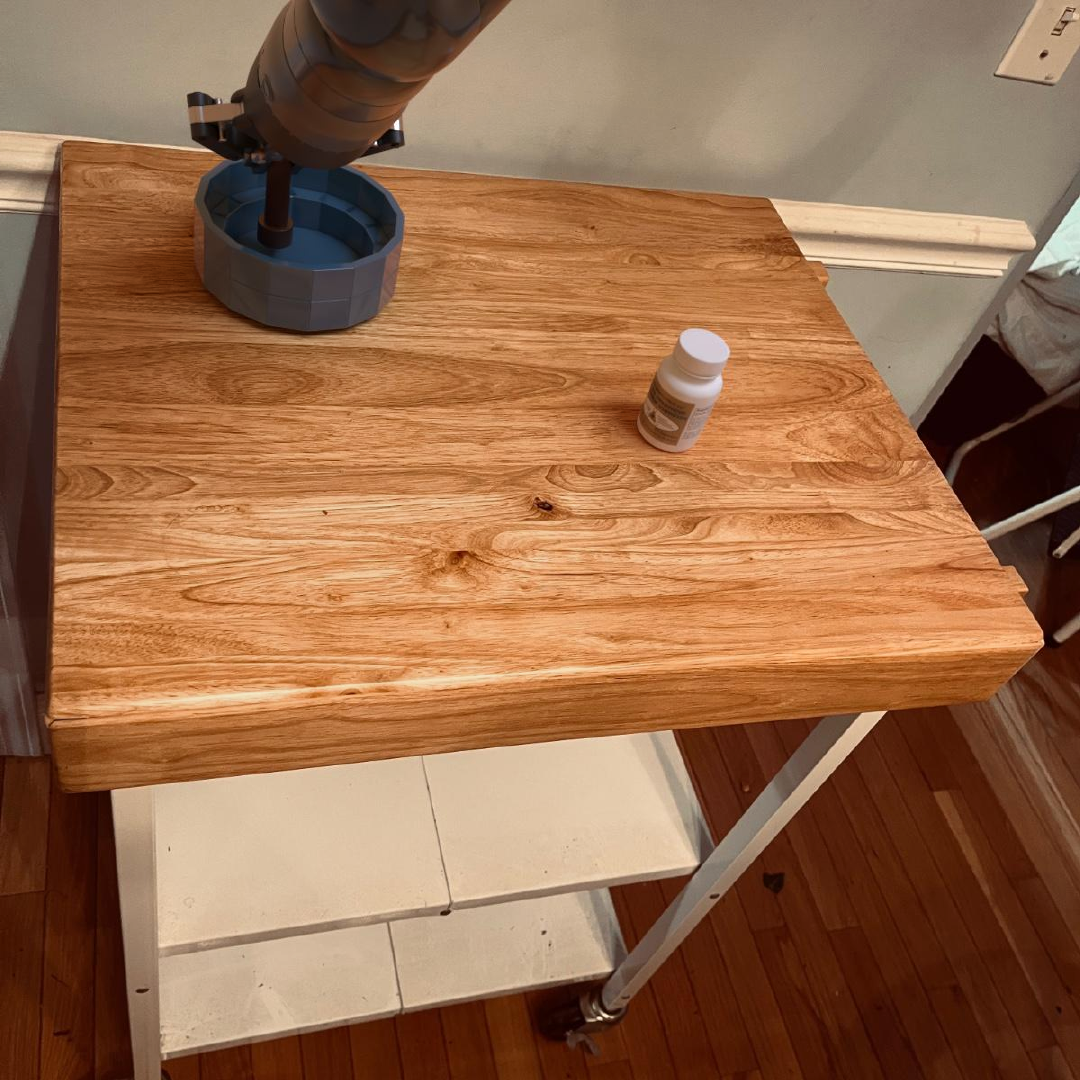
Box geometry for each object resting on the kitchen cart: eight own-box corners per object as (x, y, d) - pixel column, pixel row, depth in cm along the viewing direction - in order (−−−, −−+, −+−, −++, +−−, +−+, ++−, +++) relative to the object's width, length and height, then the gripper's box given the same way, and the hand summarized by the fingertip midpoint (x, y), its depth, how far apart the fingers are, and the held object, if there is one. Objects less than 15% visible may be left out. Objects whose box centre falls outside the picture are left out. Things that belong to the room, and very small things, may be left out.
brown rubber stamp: (271, 253, 73) (279, 132, 67) (249, 234, 74) (255, 113, 68) (299, 243, 75) (310, 124, 68) (277, 225, 76) (285, 105, 69)
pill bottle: (622, 421, 73) (658, 332, 68) (666, 403, 76) (704, 316, 70) (665, 462, 72) (705, 375, 66) (708, 442, 74) (751, 356, 69)
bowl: (281, 363, 69) (286, 294, 65) (154, 250, 73) (152, 179, 69) (432, 298, 77) (445, 233, 73) (310, 200, 82) (316, 134, 78)
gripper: (448, 13, 59) (365, 106, 74) (189, -9, 53) (158, 96, 69) (460, 154, 60) (375, 216, 75) (206, 147, 54) (172, 215, 70)
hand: (271, 158), depth 72 cm, fingers closed on brown rubber stamp, 1 cm apart
